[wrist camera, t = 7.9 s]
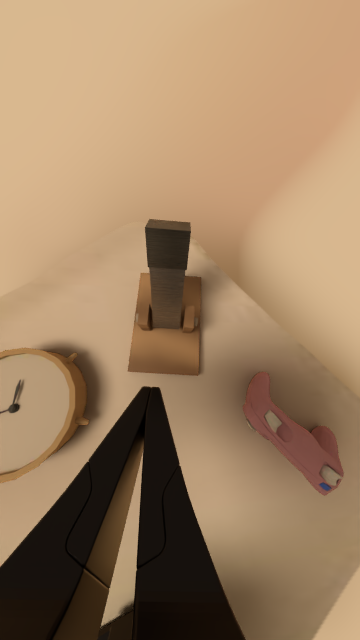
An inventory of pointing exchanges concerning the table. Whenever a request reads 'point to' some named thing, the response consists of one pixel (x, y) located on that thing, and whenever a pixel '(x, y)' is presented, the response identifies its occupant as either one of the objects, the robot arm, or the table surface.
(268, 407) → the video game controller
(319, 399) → the table surface
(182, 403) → the table surface
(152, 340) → the base
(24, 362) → the alarm clock
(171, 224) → the lever
